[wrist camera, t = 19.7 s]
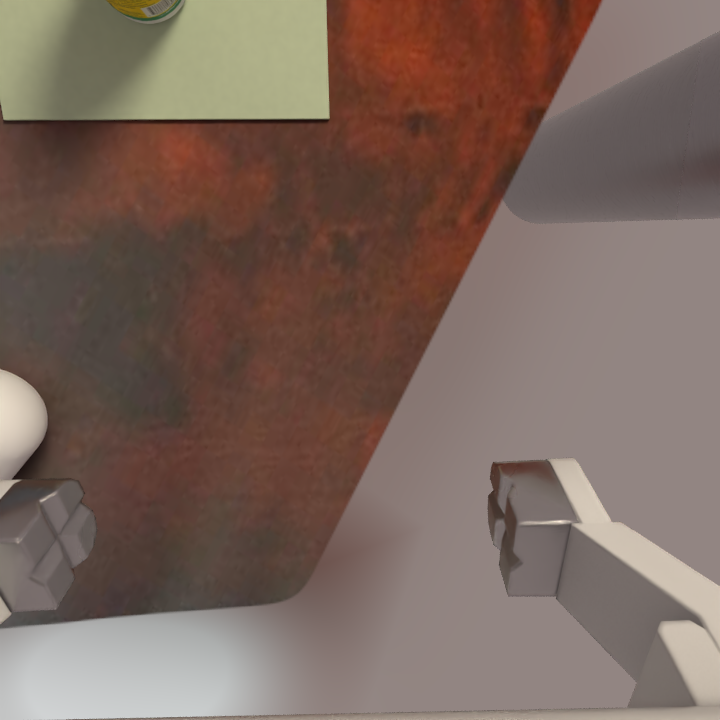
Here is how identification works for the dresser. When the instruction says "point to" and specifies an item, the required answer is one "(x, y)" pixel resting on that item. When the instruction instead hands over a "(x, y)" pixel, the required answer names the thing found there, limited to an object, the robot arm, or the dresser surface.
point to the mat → (164, 61)
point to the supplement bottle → (147, 9)
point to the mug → (19, 423)
